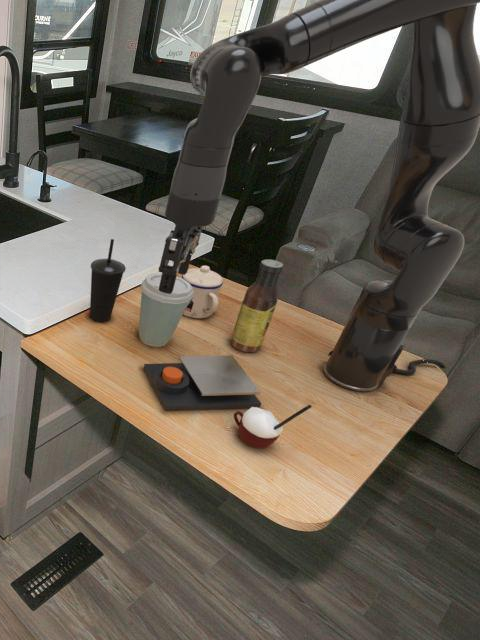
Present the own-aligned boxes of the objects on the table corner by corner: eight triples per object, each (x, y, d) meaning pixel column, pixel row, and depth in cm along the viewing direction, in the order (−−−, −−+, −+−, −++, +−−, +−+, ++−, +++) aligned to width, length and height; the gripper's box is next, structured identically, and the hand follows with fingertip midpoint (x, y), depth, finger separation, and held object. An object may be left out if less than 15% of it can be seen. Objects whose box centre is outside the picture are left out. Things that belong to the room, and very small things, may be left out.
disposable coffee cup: (151, 322, 123) (164, 264, 114) (189, 343, 115) (207, 284, 107) (120, 336, 118) (131, 277, 109) (158, 359, 111) (174, 298, 102)
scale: (228, 366, 108) (232, 355, 107) (259, 408, 98) (264, 396, 96) (141, 369, 108) (144, 357, 106) (163, 411, 97) (167, 399, 95)
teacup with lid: (167, 302, 130) (177, 259, 124) (200, 299, 131) (213, 257, 125) (191, 327, 121) (204, 283, 114) (227, 324, 122) (242, 280, 115)
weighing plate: (231, 357, 106) (232, 355, 106) (259, 394, 96) (260, 391, 96) (178, 358, 106) (179, 356, 105) (201, 396, 96) (202, 393, 96)
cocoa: (223, 426, 94) (243, 374, 87) (254, 421, 95) (276, 369, 88) (256, 465, 86) (280, 412, 79) (289, 460, 87) (317, 407, 80)
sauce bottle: (263, 355, 112) (295, 272, 100) (232, 352, 113) (261, 269, 101) (255, 338, 117) (285, 258, 106) (226, 335, 118) (253, 255, 107)
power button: (177, 372, 103) (178, 366, 102) (183, 384, 100) (185, 377, 99) (159, 373, 102) (160, 366, 102) (165, 384, 100) (167, 378, 99)
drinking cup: (78, 312, 127) (88, 235, 115) (105, 307, 128) (118, 231, 117) (93, 328, 121) (105, 248, 109) (122, 322, 122) (137, 244, 111)
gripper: (208, 208, 75) (182, 305, 84) (231, 182, 84) (205, 272, 93) (157, 198, 78) (137, 292, 87) (184, 174, 88) (164, 261, 97)
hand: (172, 282), depth 90 cm, fingers open, 8 cm apart
